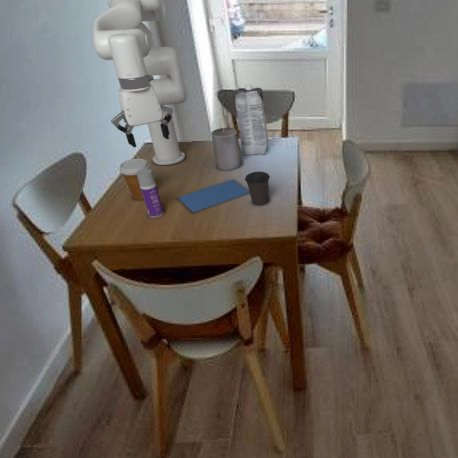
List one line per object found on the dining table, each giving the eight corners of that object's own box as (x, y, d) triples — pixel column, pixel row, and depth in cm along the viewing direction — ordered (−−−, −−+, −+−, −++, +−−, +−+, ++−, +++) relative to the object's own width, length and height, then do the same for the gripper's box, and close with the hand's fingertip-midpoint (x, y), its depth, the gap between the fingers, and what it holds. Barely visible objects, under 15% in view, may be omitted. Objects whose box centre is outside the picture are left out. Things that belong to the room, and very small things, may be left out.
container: (158, 218, 137) (146, 175, 128) (145, 217, 137) (132, 174, 129) (166, 211, 140) (155, 169, 132) (153, 209, 141) (141, 168, 133)
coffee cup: (265, 209, 140) (261, 181, 135) (243, 205, 143) (239, 178, 137) (276, 197, 147) (273, 171, 141) (255, 194, 149) (252, 167, 144)
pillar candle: (224, 159, 175) (218, 123, 167) (246, 161, 173) (241, 125, 165) (212, 169, 167) (205, 132, 159) (235, 171, 165) (229, 134, 157)
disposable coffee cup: (122, 199, 148) (111, 167, 141) (141, 187, 155) (132, 156, 149) (144, 203, 145) (134, 171, 138) (163, 191, 152) (154, 159, 146)
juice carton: (267, 155, 178) (259, 89, 163) (242, 156, 178) (232, 89, 163) (269, 147, 185) (262, 83, 170) (245, 147, 185) (236, 83, 170)
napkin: (177, 198, 148) (177, 197, 148) (232, 180, 159) (232, 179, 159) (193, 212, 139) (192, 211, 139) (250, 192, 150) (249, 191, 150)
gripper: (160, 75, 125) (173, 132, 134) (97, 85, 116) (116, 145, 125) (170, 79, 120) (183, 138, 129) (105, 91, 111) (124, 153, 120)
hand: (150, 141), depth 127 cm, fingers open, 9 cm apart
